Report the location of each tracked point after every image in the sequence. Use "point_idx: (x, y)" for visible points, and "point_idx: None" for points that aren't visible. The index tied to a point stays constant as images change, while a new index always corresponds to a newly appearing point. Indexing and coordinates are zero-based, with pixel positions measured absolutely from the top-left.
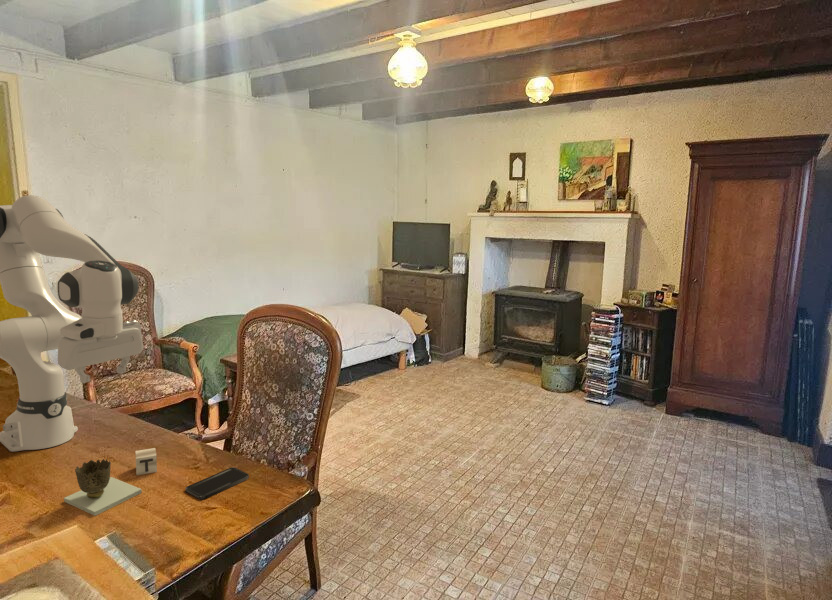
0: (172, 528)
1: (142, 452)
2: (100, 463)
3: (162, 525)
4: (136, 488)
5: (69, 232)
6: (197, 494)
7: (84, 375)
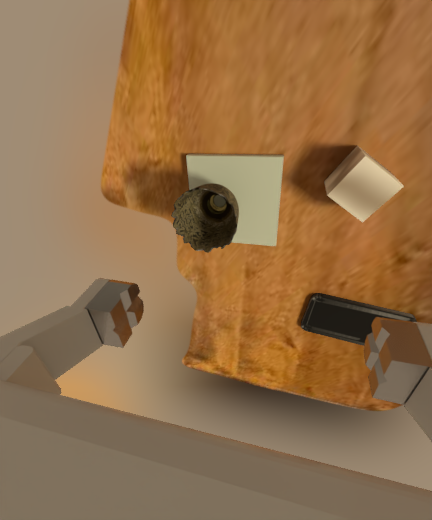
0: (233, 330)
1: (363, 180)
2: (231, 204)
3: (231, 318)
4: (273, 237)
5: None
6: (307, 319)
7: (81, 350)
